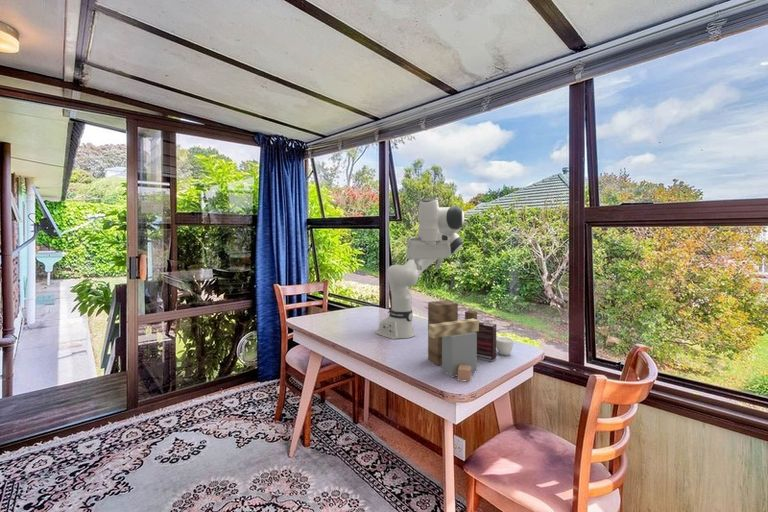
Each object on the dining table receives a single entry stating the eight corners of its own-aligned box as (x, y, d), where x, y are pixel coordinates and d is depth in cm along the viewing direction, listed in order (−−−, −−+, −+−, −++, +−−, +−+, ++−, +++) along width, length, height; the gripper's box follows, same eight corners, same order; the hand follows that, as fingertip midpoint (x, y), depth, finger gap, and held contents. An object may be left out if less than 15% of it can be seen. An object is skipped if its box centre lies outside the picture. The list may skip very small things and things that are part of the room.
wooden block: (468, 352, 157) (468, 314, 155) (459, 349, 160) (460, 313, 158) (477, 347, 163) (477, 311, 162) (468, 345, 166) (469, 310, 165)
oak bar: (433, 338, 127) (433, 326, 127) (428, 335, 130) (428, 324, 130) (478, 331, 136) (478, 320, 136) (473, 328, 139) (473, 318, 139)
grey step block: (452, 376, 130) (452, 336, 129) (441, 370, 136) (442, 332, 135) (476, 371, 134) (476, 333, 133) (465, 365, 141) (465, 328, 140)
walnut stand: (437, 365, 140) (438, 305, 139) (428, 359, 148) (428, 302, 146) (457, 362, 144) (457, 303, 143) (446, 355, 152) (447, 300, 150)
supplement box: (496, 359, 148) (497, 324, 147) (492, 362, 144) (493, 326, 143) (478, 354, 153) (478, 321, 152) (473, 357, 149) (474, 323, 148)
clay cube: (457, 380, 127) (457, 368, 126) (459, 375, 131) (459, 364, 131) (469, 382, 125) (469, 370, 125) (471, 377, 129) (471, 366, 129)
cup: (494, 355, 153) (494, 340, 152) (497, 348, 161) (497, 334, 161) (511, 357, 149) (512, 343, 149) (514, 350, 158) (514, 337, 157)
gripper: (410, 237, 132) (411, 271, 133) (452, 236, 141) (452, 268, 142) (403, 237, 138) (403, 270, 139) (444, 236, 146) (444, 267, 147)
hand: (428, 269), depth 140 cm, fingers open, 8 cm apart
